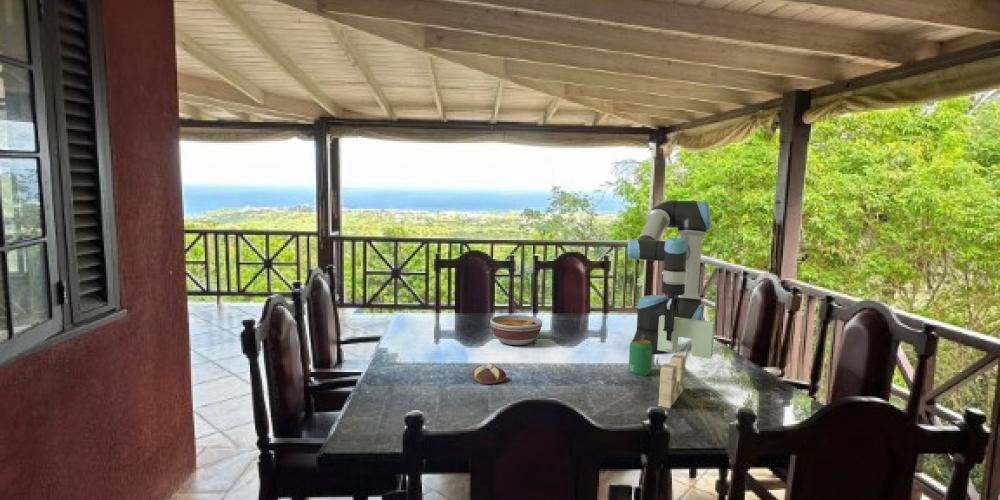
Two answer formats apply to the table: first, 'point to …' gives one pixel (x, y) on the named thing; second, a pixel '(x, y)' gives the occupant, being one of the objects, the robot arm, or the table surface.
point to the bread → (488, 374)
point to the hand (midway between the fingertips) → (670, 347)
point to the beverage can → (640, 357)
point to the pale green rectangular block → (689, 335)
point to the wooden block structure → (672, 380)
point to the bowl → (515, 328)
